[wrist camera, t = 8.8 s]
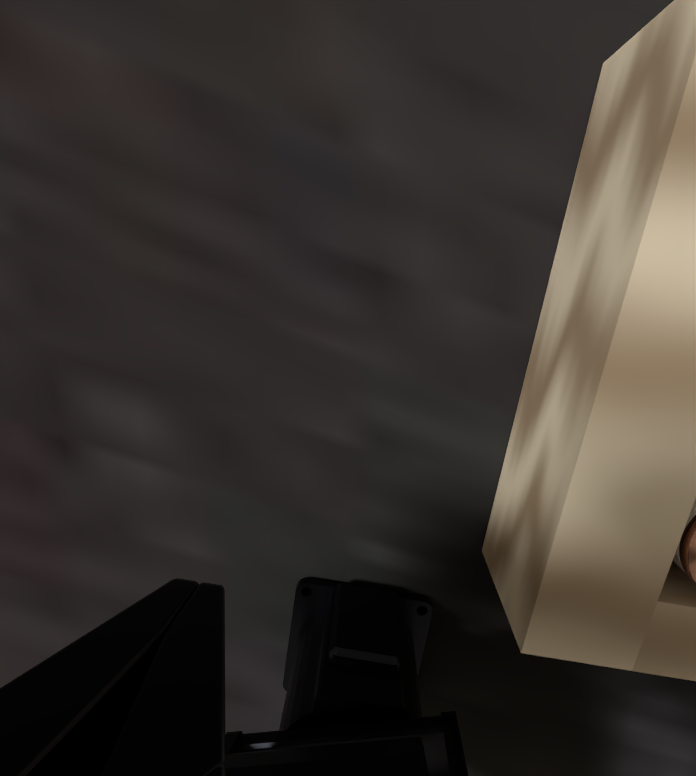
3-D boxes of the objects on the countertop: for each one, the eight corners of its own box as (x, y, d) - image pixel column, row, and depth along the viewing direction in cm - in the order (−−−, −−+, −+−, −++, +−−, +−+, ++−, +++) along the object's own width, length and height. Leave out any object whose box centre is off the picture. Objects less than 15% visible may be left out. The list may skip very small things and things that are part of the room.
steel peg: (675, 519, 21) (785, 610, 15) (593, 506, 21) (673, 592, 15) (703, 443, 20) (830, 510, 14) (617, 429, 20) (711, 492, 14)
